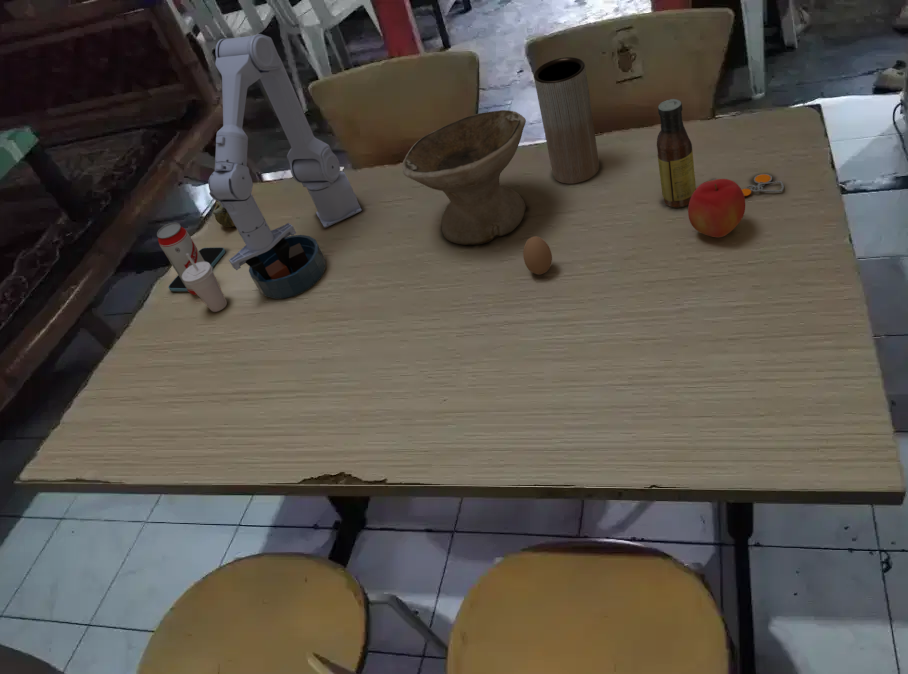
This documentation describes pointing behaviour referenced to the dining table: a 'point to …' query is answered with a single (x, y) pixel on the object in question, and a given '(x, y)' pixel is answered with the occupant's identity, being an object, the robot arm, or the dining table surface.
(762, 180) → the key chain
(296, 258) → the walnut block
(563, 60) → the planter
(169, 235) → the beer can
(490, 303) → the dining table surface
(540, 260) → the egg
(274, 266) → the terracotta block
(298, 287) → the teal bowl
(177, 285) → the smartphone
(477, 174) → the bowl
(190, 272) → the smoothie
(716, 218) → the apple
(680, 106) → the sauce bottle
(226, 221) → the onion
